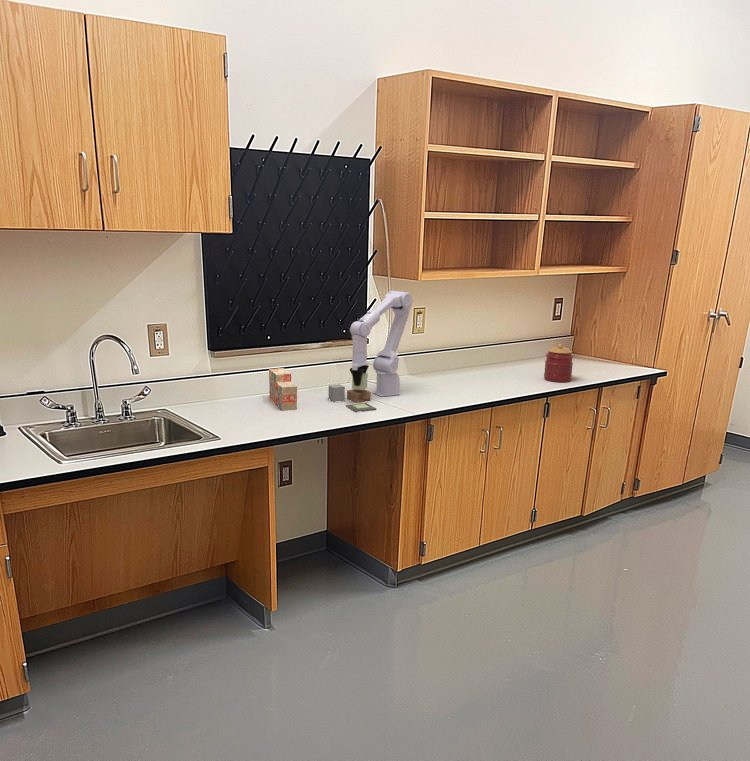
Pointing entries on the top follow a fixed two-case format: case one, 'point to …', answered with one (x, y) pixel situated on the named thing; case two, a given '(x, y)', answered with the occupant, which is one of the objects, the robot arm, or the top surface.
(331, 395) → the slate grey block
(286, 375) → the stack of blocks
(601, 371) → the top surface
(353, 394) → the walnut base block
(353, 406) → the card
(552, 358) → the canister
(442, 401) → the top surface
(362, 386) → the sage green block
